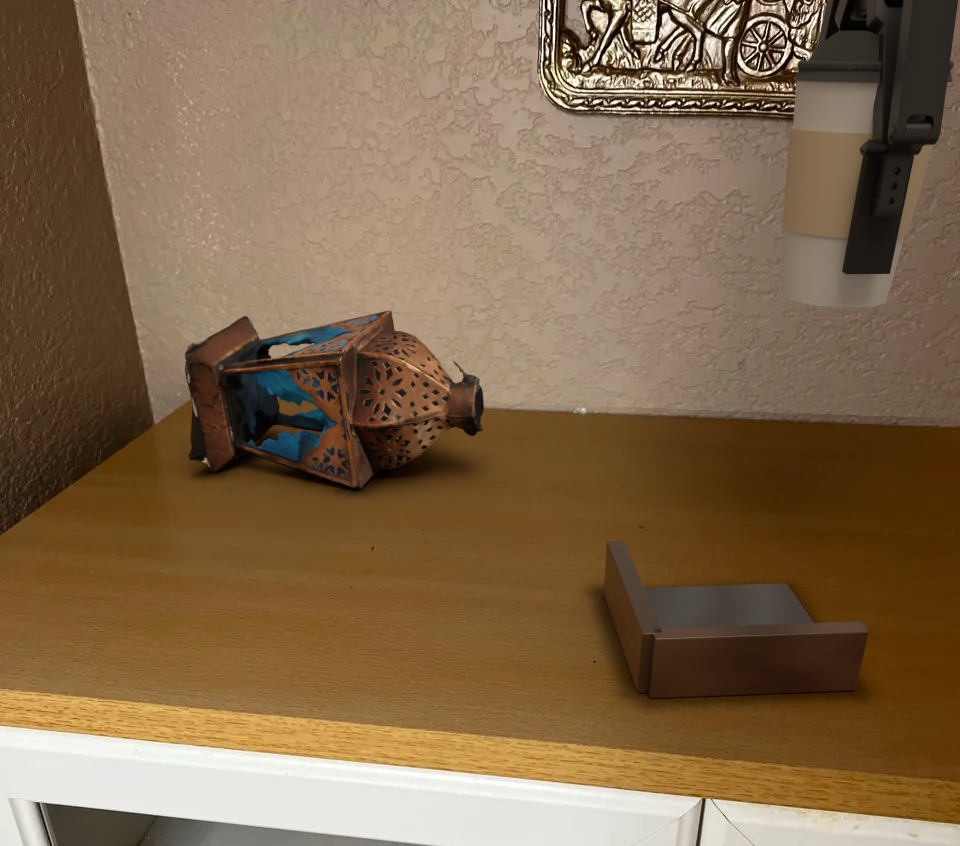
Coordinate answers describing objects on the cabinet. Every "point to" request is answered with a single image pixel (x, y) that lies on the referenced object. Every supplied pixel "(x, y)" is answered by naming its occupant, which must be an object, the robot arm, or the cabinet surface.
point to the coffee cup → (835, 174)
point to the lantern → (325, 398)
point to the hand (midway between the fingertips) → (839, 258)
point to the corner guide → (725, 638)
